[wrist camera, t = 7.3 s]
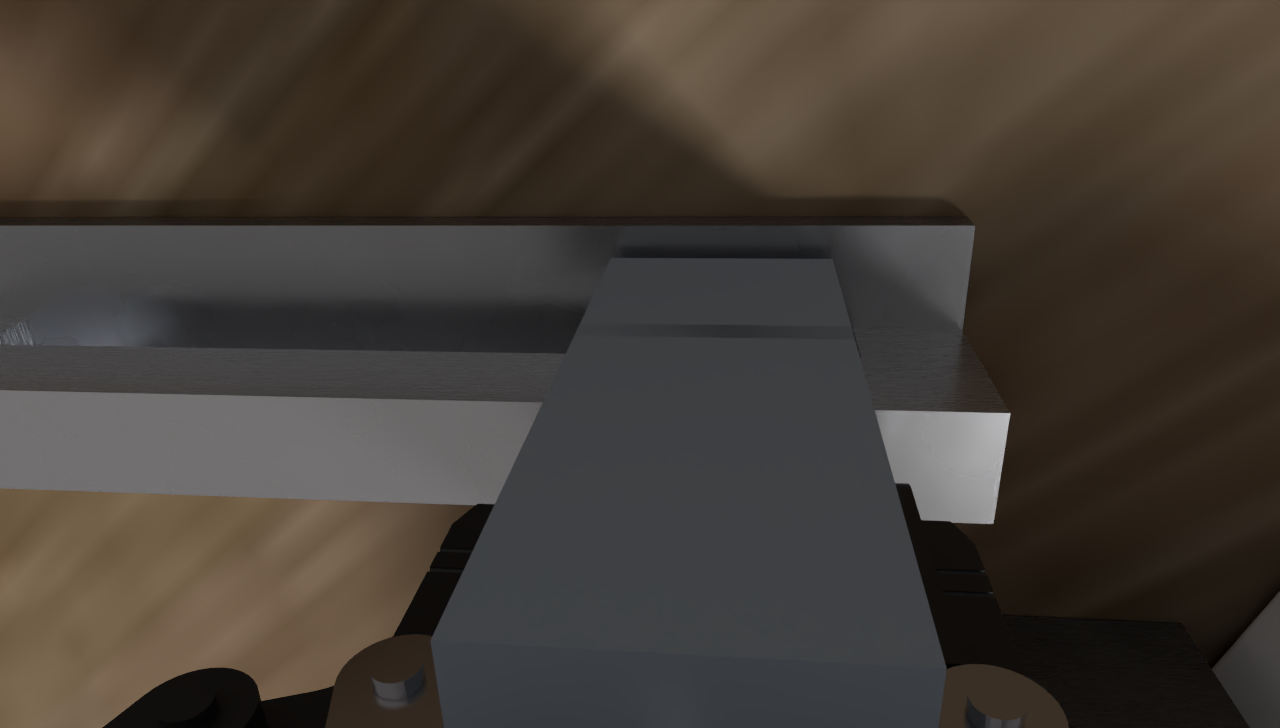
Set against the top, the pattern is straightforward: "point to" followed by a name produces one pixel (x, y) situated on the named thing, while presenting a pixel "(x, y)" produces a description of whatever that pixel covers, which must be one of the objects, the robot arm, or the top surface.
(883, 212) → the top surface
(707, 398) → the block
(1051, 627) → the block with square hole
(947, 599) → the robot arm
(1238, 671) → the jar
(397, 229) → the rail
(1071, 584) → the top surface
